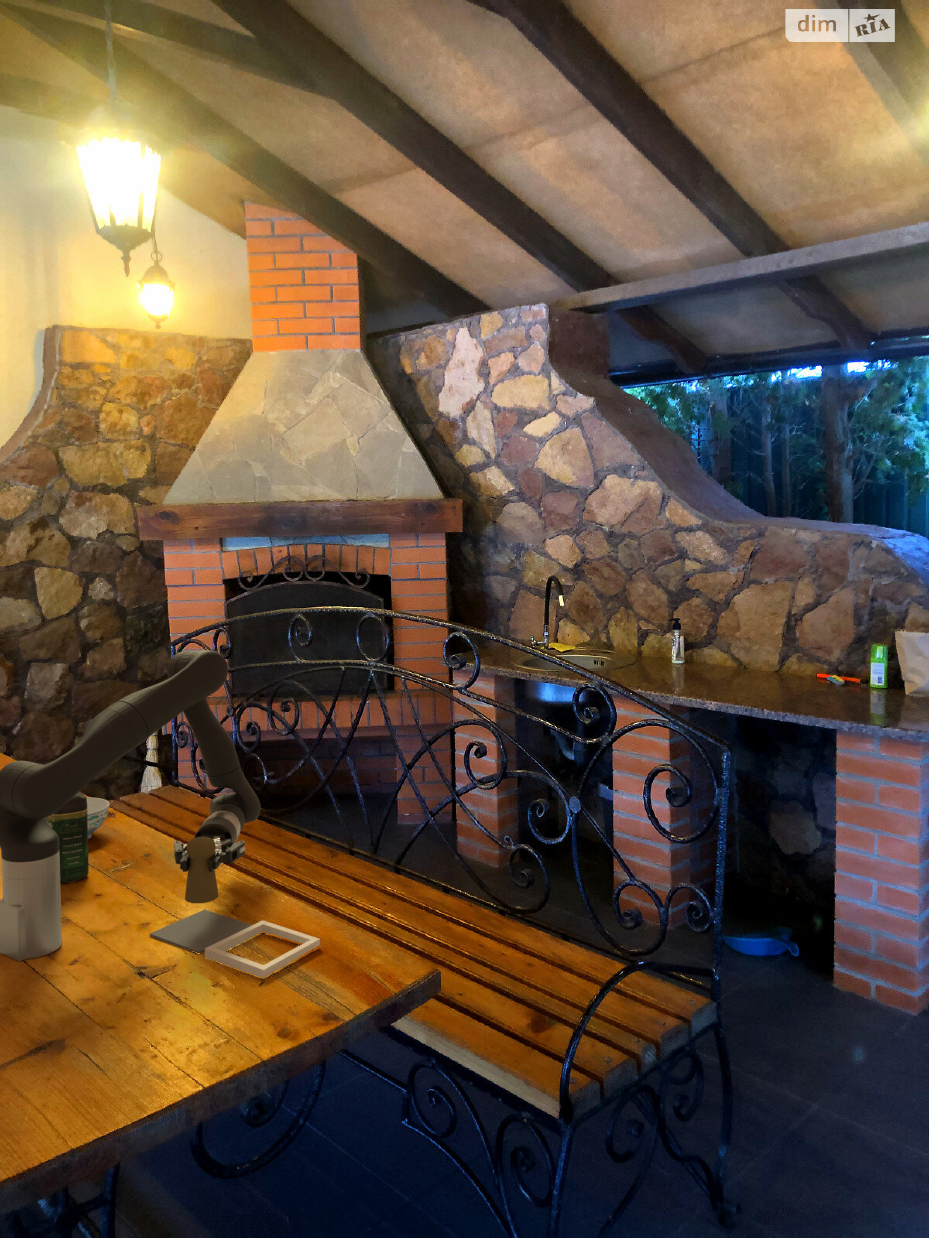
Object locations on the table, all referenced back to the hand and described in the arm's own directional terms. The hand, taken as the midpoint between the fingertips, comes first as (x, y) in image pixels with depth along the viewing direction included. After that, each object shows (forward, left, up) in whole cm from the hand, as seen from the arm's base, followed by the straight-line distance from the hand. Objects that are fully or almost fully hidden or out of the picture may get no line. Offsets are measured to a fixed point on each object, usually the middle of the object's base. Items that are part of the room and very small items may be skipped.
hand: (197, 866), depth 166 cm
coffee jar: (+5, +46, -14) cm, 48 cm away
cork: (+2, +2, -7) cm, 8 cm away
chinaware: (+21, +66, -14) cm, 71 cm away
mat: (+2, +2, -13) cm, 14 cm away
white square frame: (+2, -14, -13) cm, 20 cm away
